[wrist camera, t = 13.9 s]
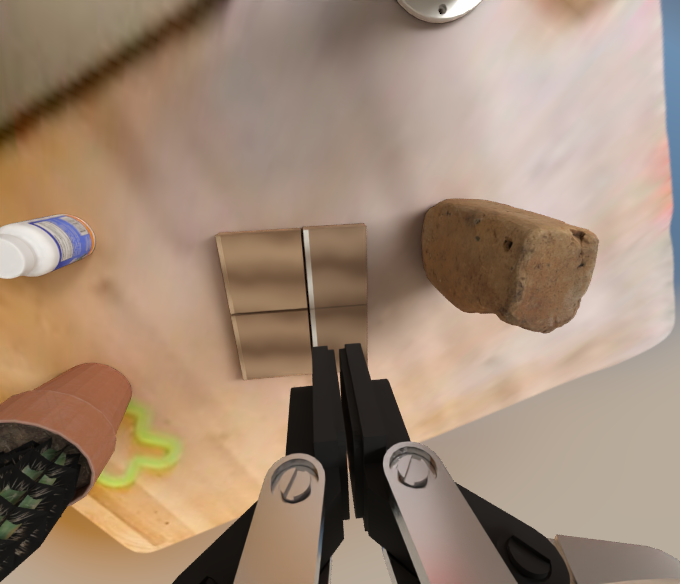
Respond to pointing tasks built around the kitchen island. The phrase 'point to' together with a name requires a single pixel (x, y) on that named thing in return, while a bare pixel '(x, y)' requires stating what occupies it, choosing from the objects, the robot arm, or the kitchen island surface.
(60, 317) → the kitchen island surface
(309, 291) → the laid board
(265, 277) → the plank
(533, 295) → the block
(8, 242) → the pill bottle
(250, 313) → the plank
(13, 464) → the potted plant
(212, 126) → the kitchen island surface
